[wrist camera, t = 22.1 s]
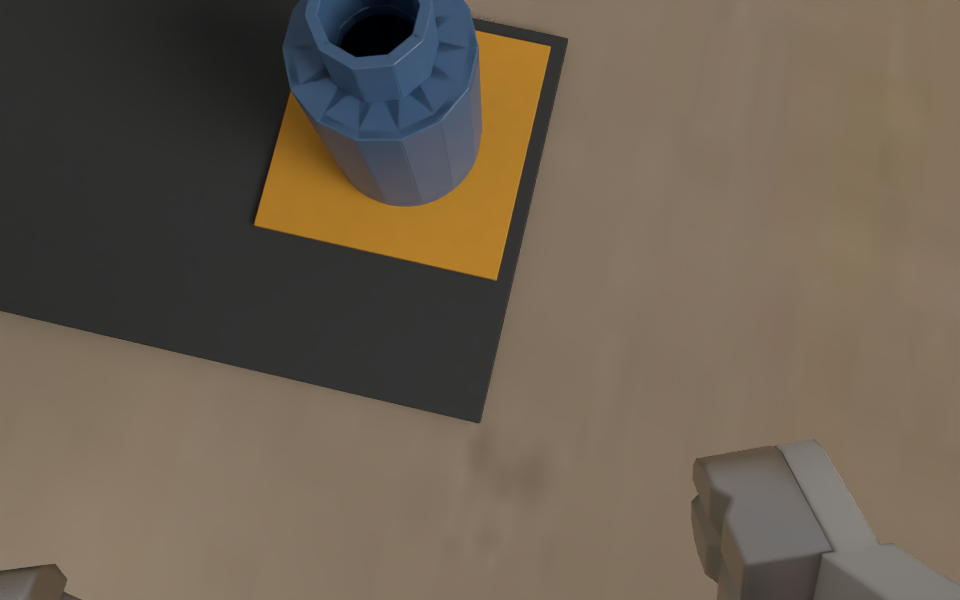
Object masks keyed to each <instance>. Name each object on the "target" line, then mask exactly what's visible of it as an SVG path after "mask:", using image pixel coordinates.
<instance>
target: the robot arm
mask: <svg viewBox="0 0 960 600" xmlns="http://www.w3.org/2000/svg"><path fill="white" fill-rule="evenodd" d="M693 481H694V484H695V486H696V489H697V492H698V495H697V496H696V497H695V498H694V499H693V501H692V502H691V520H692V527H693V534H694V540H695V544H696V547H697V551H698V555H699V558H700V561H701V563H702V566H703V569H704V572H705V574H706V575H707V576H709V577H710V578H711V579H713V580H714V581H715V582H717V583H718V593H717V600H960V585H958V584H957V583H955V582H954V581H952V580H950V579H949V578H947V577H946V576H944V575H943V574H941V573H939V572H938V571H936V570H935V569H933V568H932V567H930V566H928V565H927V564H925V563H924V562H922V561H920V560H919V559H917V558H916V557H914V556H913V555H911V554H909V553H908V552H906V551H905V550H903V549H901V548H900V547H898V546H897V545H895V544H894V543H887V544H880V543H879V541H878V540H877V538H876V536H875V535H874V533H873V531H872V530H871V528H870V526H869V524H868V523H867V521H866V519H865V518H864V516H863V514H862V513H861V511H860V509H859V508H858V506H857V504H856V502H855V501H854V499H853V497H852V496H851V494H850V492H849V491H848V489H847V487H846V486H845V484H844V482H843V480H842V479H841V477H840V475H839V474H838V472H837V470H836V469H835V467H834V465H833V464H832V462H831V460H830V458H829V457H828V455H827V453H826V452H825V450H824V448H823V447H822V445H821V444H820V443H818V442H817V441H816V440H807V441H801V442H795V443H789V444H782V445H776V446H773V447H772V446H766V447H760V448H754V449H748V450H743V451H737V452H731V453H725V454H720V455H714V456H708V457H703V458H697V459H696V460H695V462H694V465H693ZM66 582H67V578H66V577H65V576H64V574H63V573H62V572H61V570H60V569H59V568H58V567H57V565H56V564H50V565H41V566H33V567H26V568H18V569H11V570H4V571H0V600H81V599H79V598H76V597H74V596H72V595H70V594H67V593H65V592H63V591H64V588H65V585H66Z"/></svg>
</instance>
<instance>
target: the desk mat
mask: <svg viewBox="0 0 960 600" xmlns="http://www.w3.org/2000/svg"><path fill="white" fill-rule="evenodd" d="M299 1H300V0H0V311H4V312H8V313H12V314H16V315H21V316H25V317H29V318H33V319H38V320H42V321H46V322H50V323H55V324H59V325H63V326H67V327H72V328H76V329H80V330H84V331H89V332H93V333H97V334H101V335H106V336H110V337H114V338H118V339H123V340H127V341H131V342H135V343H140V344H144V345H148V346H152V347H157V348H161V349H165V350H169V351H174V352H178V353H182V354H186V355H191V356H195V357H199V358H203V359H208V360H212V361H216V362H220V363H225V364H229V365H233V366H237V367H242V368H246V369H250V370H254V371H259V372H263V373H267V374H271V375H276V376H280V377H284V378H288V379H293V380H297V381H301V382H305V383H310V384H314V385H318V386H322V387H327V388H331V389H335V390H339V391H344V392H348V393H352V394H356V395H361V396H365V397H369V398H373V399H378V400H382V401H386V402H390V403H395V404H399V405H403V406H407V407H412V408H416V409H420V410H424V411H429V412H433V413H437V414H441V415H446V416H450V417H454V418H458V419H463V420H467V421H471V422H476V423H480V421H481V417H482V413H483V408H484V404H485V400H486V395H487V391H488V387H489V382H490V378H491V374H492V369H493V365H494V361H495V356H496V352H497V348H498V343H499V339H500V335H501V330H502V326H503V322H504V317H505V313H506V308H507V304H508V300H509V295H510V291H511V287H512V282H513V278H514V274H515V269H516V265H517V261H518V256H519V252H520V248H521V243H522V239H523V235H524V230H525V226H526V222H527V217H528V213H529V209H530V204H531V200H532V195H533V191H534V187H535V182H536V178H537V174H538V169H539V165H540V161H541V156H542V152H543V148H544V143H545V139H546V135H547V130H548V126H549V122H550V117H551V113H552V109H553V104H554V100H555V96H556V91H557V87H558V82H559V78H560V74H561V69H562V65H563V61H564V56H565V52H566V48H567V43H568V39H567V38H563V37H558V36H554V35H549V34H544V33H540V32H535V31H530V30H525V29H521V28H516V27H511V26H506V25H502V24H497V23H492V22H488V21H483V20H478V19H473V18H472V20H473V24H474V28H475V32H476V37H477V41H478V45H479V61H480V85H481V110H482V134H481V140H480V147H479V152H478V155H477V158H476V161H475V163H474V165H473V167H472V169H471V170H470V172H469V174H468V175H467V177H466V178H465V179H464V180H463V181H462V182H461V184H459V185H458V186H457V187H456V188H455V189H454V190H453V191H451V192H450V193H448V194H447V195H446V196H444V197H442V198H440V199H438V200H436V201H433V202H430V203H428V204H423V205H419V206H410V207H402V206H393V205H388V204H384V203H381V202H378V201H376V200H374V199H371V198H370V197H368V196H366V195H365V194H363V193H362V192H360V191H359V190H358V189H357V188H355V187H354V185H353V184H352V183H351V182H350V181H349V180H348V179H347V177H346V176H345V175H344V173H343V172H342V170H341V169H340V168H339V167H338V165H337V164H336V163H335V161H334V160H333V158H332V156H331V155H330V153H329V151H328V150H327V148H326V147H325V145H324V143H323V142H322V140H321V138H320V137H319V135H318V134H317V132H316V130H315V129H314V127H313V126H312V124H311V122H310V121H309V119H308V117H307V116H306V114H305V113H304V111H303V109H302V108H301V106H300V104H299V103H298V101H297V100H296V98H295V96H294V95H293V93H292V91H291V89H290V86H289V81H288V76H287V71H286V66H285V61H284V56H283V51H282V49H283V48H282V47H283V43H284V40H285V36H286V33H287V29H288V25H289V22H290V18H291V15H292V11H293V9H294V7H295V6H296V5H297V4H298V2H299Z"/></svg>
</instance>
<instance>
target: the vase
mask: <svg viewBox="0 0 960 600" xmlns="http://www.w3.org/2000/svg"><path fill="white" fill-rule="evenodd" d="M282 48H283V49H282V51H283V56H284V61H285V66H286V71H287V76H288V81H289V86H290V89H291V91H292V93H293V95H294V96H295V98H296V100H297V101H298V103H299V104H300V106H301V108H302V109H303V111H304V113H305V114H306V116H307V117H308V119H309V121H310V122H311V124H312V126H313V127H314V129H315V130H316V132H317V134H318V135H319V137H320V138H321V140H322V142H323V143H324V145H325V147H326V148H327V150H328V151H329V153H330V155H331V156H332V158H333V160H334V161H335V163H336V164H337V165H338V167H339V168H340V169H341V170H342V172H343V173H344V175H345V176H346V177H347V179H348V180H349V181H350V182H351V183H352V184H353V185H354V187H355V188H357V189H358V190H359V191H360V192H362V193H363V194H365V195H366V196H368V197H370V198H371V199H374V200H376V201H378V202H381V203H384V204H388V205H393V206H402V207H410V206H419V205H423V204H428V203H430V202H433V201H436V200H438V199H440V198H442V197H444V196H446V195H447V194H448V193H450V192H451V191H453V190H454V189H455V188H456V187H457V186H458V185H459V184H461V182H462V181H463V180H464V179H465V178H466V177H467V175H468V174H469V172H470V170H471V169H472V167H473V165H474V163H475V161H476V158H477V155H478V152H479V147H480V140H481V134H482V110H481V85H480V61H479V45H478V41H477V37H476V32H475V28H474V24H473V20H472V15H471V11H470V8H469V6H468V5H467V4H466V3H465V2H464V0H300V1H299V2H298V4H297V5H296V6H295V7H294V9H293V11H292V15H291V18H290V22H289V25H288V29H287V33H286V36H285V40H284V43H283V47H282Z"/></svg>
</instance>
